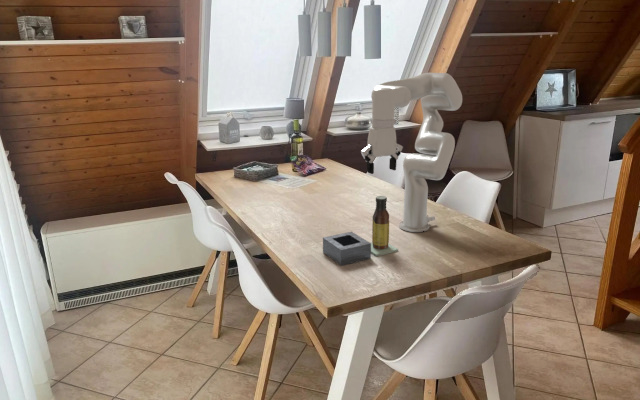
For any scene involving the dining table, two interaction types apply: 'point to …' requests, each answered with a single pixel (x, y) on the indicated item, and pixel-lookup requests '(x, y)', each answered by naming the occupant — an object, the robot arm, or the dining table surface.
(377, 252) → the mat
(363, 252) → the collar
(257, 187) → the dining table surface
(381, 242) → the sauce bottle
